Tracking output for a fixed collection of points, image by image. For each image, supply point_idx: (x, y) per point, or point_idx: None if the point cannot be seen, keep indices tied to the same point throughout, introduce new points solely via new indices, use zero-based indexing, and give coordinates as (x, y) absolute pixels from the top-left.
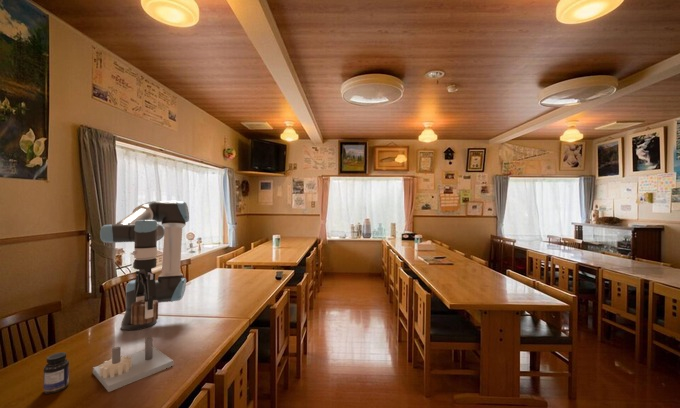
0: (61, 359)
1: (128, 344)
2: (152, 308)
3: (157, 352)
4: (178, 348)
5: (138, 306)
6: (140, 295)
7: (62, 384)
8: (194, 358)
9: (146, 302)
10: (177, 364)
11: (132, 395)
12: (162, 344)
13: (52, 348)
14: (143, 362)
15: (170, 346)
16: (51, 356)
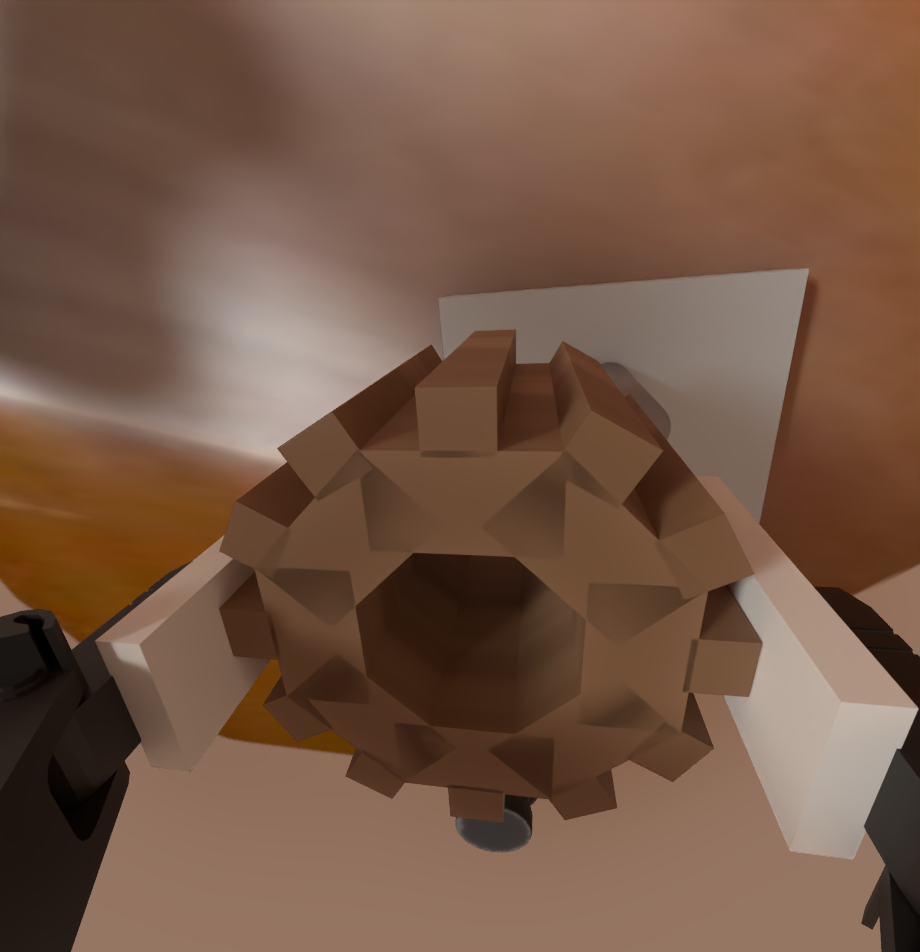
0: (528, 808)
1: (215, 382)
2: (856, 603)
3: (561, 310)
4: (535, 124)
5: (593, 764)
6: (107, 720)
7: None
8: (843, 79)
9: (845, 822)
10: (797, 235)
11: (880, 534)
12: (363, 205)
13: (70, 623)
14: None
15: (445, 166)
16: (483, 840)
